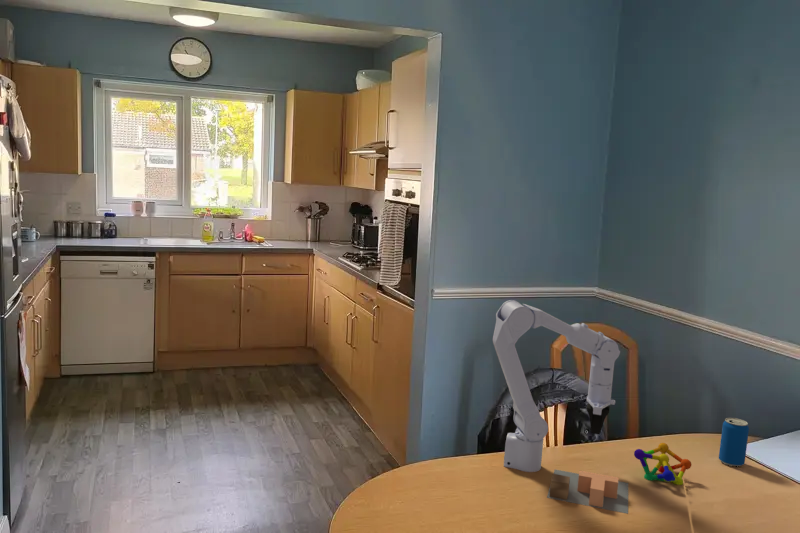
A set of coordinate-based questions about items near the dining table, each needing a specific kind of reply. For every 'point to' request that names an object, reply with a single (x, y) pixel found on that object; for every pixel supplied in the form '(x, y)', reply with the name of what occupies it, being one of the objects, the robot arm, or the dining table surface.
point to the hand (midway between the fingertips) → (595, 433)
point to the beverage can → (733, 442)
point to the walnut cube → (559, 486)
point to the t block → (597, 487)
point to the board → (583, 498)
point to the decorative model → (663, 460)
